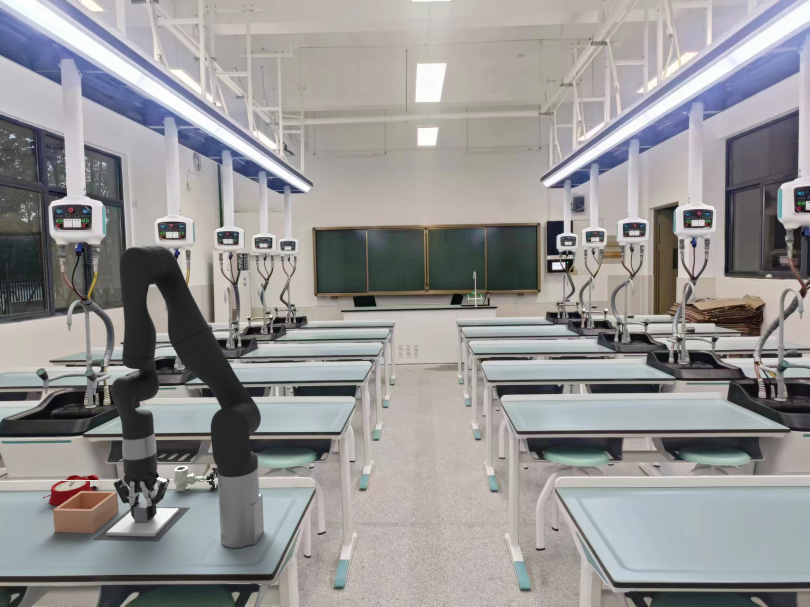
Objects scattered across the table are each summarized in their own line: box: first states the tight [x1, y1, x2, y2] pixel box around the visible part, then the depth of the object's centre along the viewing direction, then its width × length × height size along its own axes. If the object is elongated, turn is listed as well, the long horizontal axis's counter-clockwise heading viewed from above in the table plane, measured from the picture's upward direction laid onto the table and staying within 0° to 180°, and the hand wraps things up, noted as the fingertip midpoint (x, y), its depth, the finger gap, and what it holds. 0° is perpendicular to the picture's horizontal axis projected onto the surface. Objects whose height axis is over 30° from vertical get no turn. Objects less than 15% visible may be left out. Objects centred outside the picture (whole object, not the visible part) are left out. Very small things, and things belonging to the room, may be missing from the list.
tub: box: [52, 490, 120, 534], centre depth 131 cm, size 10×10×6 cm
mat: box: [93, 506, 191, 542], centre depth 130 cm, size 16×16×1 cm
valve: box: [173, 465, 218, 492], centre depth 148 cm, size 7×7×12 cm
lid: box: [107, 501, 179, 536], centre depth 130 cm, size 12×12×5 cm
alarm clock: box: [42, 474, 100, 507], centre depth 146 cm, size 10×6×15 cm
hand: (144, 517), depth 130 cm, fingers closed on lid, 3 cm apart
